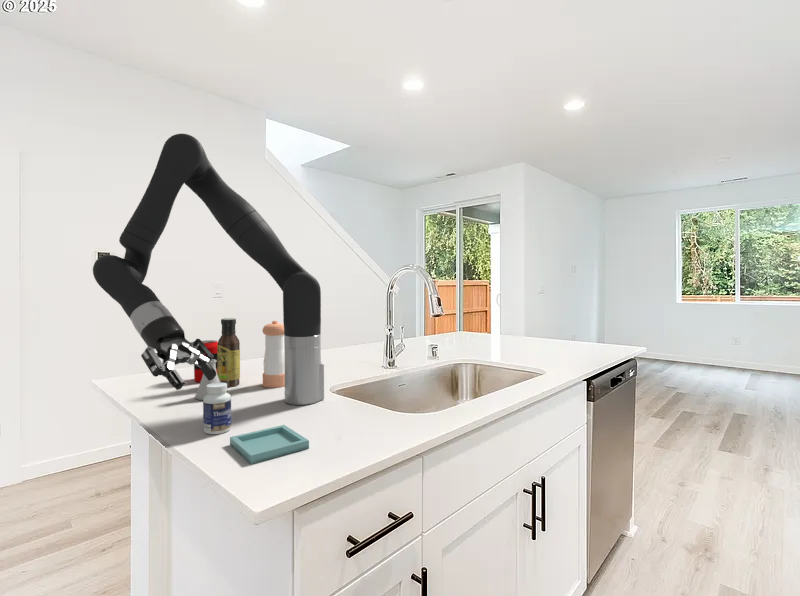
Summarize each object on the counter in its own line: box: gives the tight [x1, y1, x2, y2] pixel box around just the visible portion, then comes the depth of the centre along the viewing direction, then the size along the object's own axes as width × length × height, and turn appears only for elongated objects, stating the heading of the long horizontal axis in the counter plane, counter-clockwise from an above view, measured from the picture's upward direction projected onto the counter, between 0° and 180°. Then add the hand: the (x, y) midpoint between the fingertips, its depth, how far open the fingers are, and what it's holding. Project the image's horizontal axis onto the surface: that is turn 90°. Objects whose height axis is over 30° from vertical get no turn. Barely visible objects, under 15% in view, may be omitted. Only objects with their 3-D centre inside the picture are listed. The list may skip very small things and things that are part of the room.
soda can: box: [193, 339, 218, 383], centre depth 134 cm, size 8×8×12 cm
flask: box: [194, 359, 220, 401], centre depth 115 cm, size 7×7×10 cm
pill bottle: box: [202, 382, 232, 435], centre depth 90 cm, size 5×5×10 cm
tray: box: [229, 424, 310, 465], centre depth 82 cm, size 11×11×2 cm
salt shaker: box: [261, 320, 285, 389], centre depth 128 cm, size 7×7×19 cm
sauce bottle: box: [217, 317, 241, 388], centre depth 127 cm, size 6×6×20 cm
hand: (197, 382), depth 92 cm, fingers open, 8 cm apart
